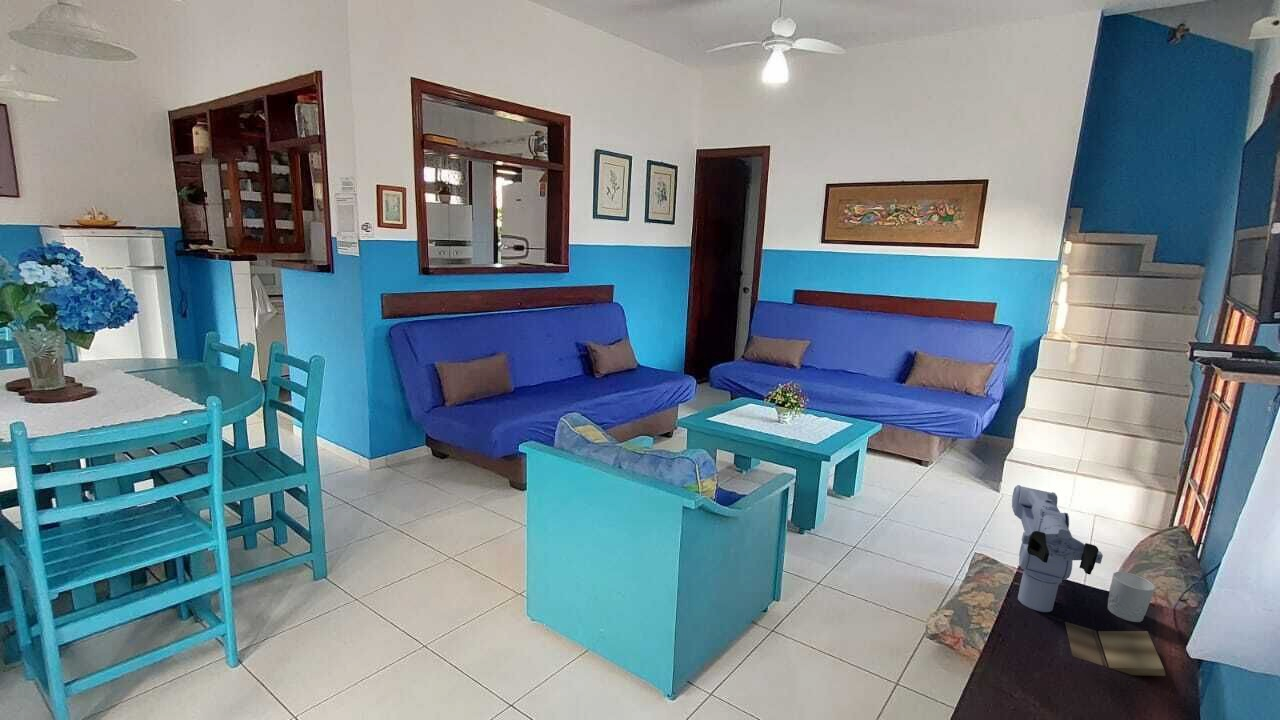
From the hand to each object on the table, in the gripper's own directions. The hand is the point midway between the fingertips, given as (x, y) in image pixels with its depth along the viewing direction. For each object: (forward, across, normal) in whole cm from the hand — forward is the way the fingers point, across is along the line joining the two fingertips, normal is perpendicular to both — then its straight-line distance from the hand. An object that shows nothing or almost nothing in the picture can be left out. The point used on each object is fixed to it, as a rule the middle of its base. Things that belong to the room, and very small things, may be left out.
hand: (1067, 563), depth 131 cm
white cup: (-27, +20, +20) cm, 39 cm away
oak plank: (-7, +17, +19) cm, 26 cm away
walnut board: (-8, +8, +21) cm, 24 cm away
